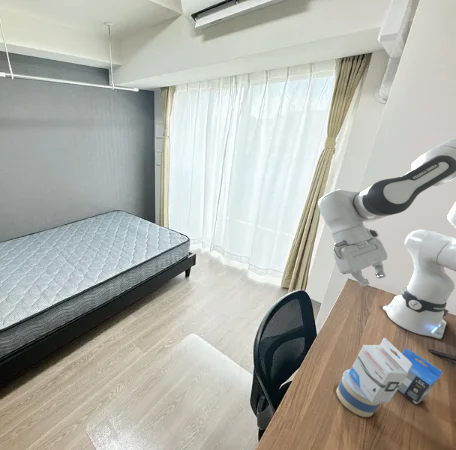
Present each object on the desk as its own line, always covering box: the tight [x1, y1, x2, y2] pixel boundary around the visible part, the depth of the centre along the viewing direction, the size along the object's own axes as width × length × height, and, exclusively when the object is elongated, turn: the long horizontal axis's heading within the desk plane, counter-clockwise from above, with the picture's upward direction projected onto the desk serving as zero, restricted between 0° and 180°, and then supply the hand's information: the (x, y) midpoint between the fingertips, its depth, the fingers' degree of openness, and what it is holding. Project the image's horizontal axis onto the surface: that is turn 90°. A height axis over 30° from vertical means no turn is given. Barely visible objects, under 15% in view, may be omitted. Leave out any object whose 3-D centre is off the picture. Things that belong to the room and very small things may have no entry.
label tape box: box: [396, 346, 443, 405], centre depth 73 cm, size 9×4×12 cm, turn 20°
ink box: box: [349, 337, 412, 404], centre depth 65 cm, size 9×5×15 cm, turn 0°
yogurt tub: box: [335, 368, 381, 418], centre depth 70 cm, size 9×9×7 cm
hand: (373, 281), depth 73 cm, fingers open, 8 cm apart
